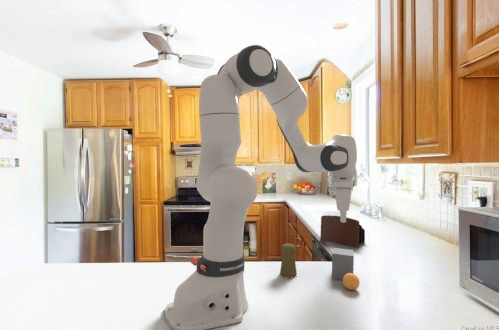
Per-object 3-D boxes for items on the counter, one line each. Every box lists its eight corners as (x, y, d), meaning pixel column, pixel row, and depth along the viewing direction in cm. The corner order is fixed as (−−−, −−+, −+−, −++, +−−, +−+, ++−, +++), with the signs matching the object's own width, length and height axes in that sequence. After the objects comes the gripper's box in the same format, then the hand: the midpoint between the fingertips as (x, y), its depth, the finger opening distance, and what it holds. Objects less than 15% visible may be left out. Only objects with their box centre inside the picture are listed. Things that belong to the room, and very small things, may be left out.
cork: (296, 279, 94) (297, 247, 94) (279, 277, 95) (279, 246, 95) (297, 272, 100) (297, 242, 100) (280, 270, 101) (281, 241, 101)
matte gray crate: (331, 278, 95) (332, 253, 95) (333, 271, 101) (333, 247, 101) (353, 281, 92) (353, 256, 92) (353, 274, 99) (353, 250, 99)
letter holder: (358, 248, 130) (359, 219, 130) (319, 240, 143) (320, 214, 143) (364, 244, 138) (365, 216, 138) (327, 236, 150) (328, 211, 150)
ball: (352, 294, 83) (352, 278, 83) (339, 287, 88) (339, 272, 88) (362, 290, 86) (362, 274, 86) (349, 284, 90) (349, 269, 90)
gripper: (335, 178, 108) (335, 213, 108) (332, 182, 88) (332, 224, 89) (352, 179, 105) (352, 214, 106) (353, 183, 86) (353, 226, 86)
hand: (343, 219), depth 97 cm, fingers open, 8 cm apart
